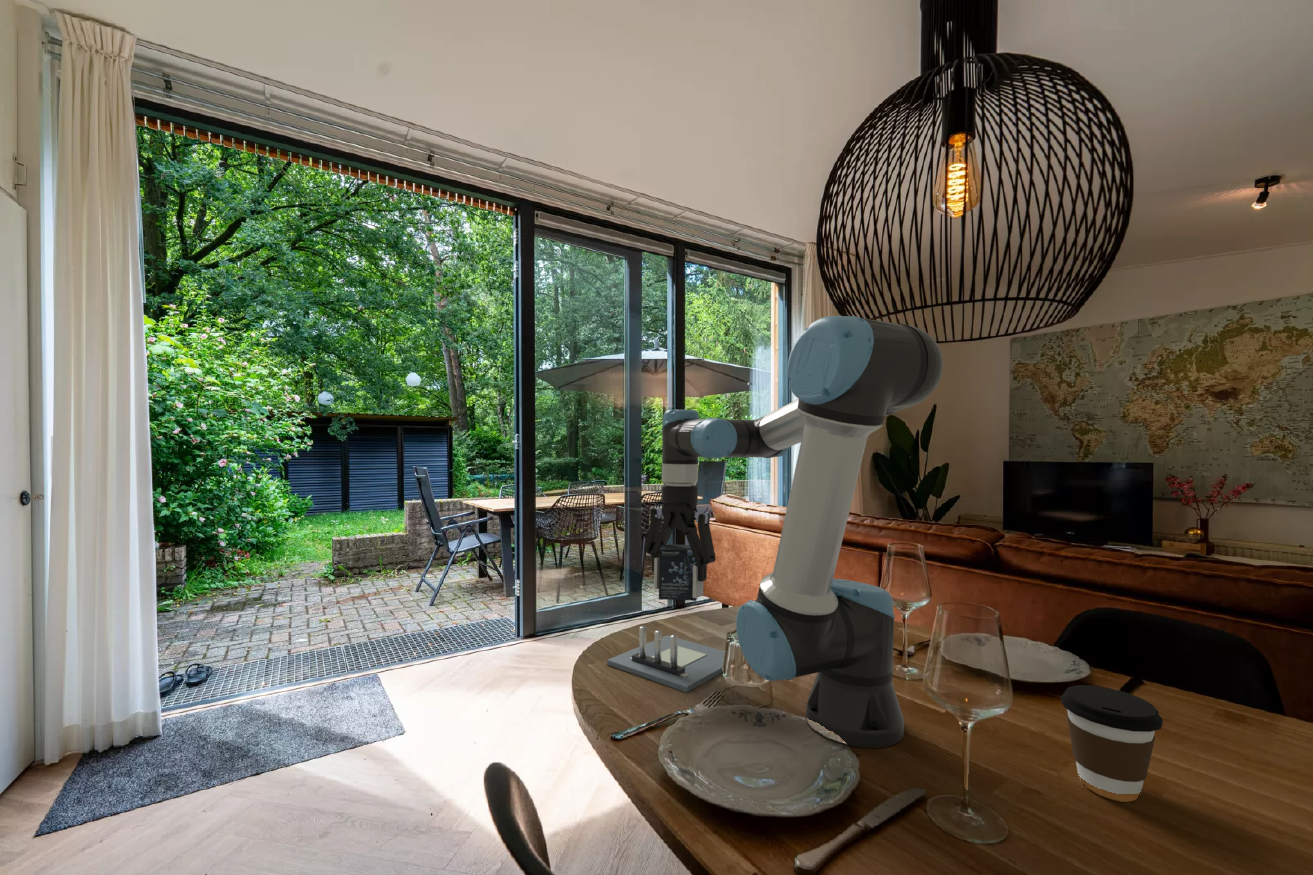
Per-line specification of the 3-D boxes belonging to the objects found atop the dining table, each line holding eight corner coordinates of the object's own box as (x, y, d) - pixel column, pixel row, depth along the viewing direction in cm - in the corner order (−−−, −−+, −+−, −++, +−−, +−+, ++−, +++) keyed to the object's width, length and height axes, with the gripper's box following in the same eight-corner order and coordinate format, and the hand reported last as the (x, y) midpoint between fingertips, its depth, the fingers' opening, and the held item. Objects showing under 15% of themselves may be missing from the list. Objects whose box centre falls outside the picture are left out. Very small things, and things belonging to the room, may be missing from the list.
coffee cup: (1167, 826, 72) (1169, 728, 72) (1059, 794, 78) (1060, 703, 78) (1156, 783, 81) (1157, 696, 81) (1060, 758, 87) (1061, 677, 87)
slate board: (742, 661, 123) (742, 655, 123) (686, 692, 108) (686, 685, 108) (667, 639, 136) (667, 634, 136) (607, 664, 120) (607, 658, 120)
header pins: (685, 672, 114) (685, 636, 114) (678, 676, 112) (679, 639, 112) (638, 657, 122) (638, 623, 122) (631, 660, 120) (632, 626, 120)
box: (658, 600, 119) (659, 548, 119) (659, 593, 125) (660, 543, 125) (697, 601, 119) (698, 549, 119) (696, 594, 125) (697, 544, 125)
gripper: (734, 486, 118) (733, 598, 118) (650, 480, 132) (648, 580, 132) (714, 488, 112) (712, 606, 112) (628, 481, 126) (626, 586, 126)
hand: (678, 592), depth 122 cm, fingers closed on box, 9 cm apart
